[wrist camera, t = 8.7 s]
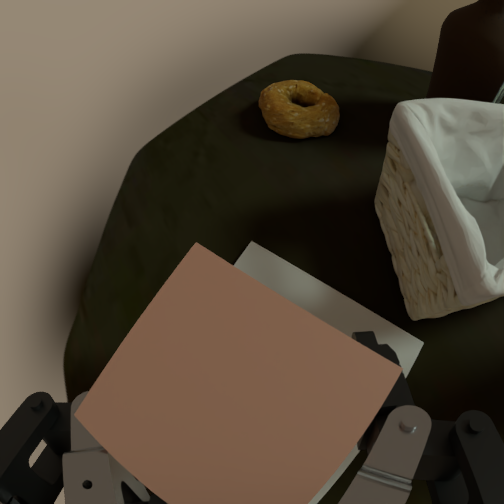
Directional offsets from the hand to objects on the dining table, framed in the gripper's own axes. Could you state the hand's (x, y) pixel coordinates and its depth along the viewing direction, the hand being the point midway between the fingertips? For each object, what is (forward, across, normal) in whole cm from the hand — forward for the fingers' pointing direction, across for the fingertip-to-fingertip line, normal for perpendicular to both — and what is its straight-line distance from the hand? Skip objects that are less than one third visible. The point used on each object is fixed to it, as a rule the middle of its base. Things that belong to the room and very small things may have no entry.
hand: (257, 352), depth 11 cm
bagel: (+35, +3, +9) cm, 36 cm away
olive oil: (+34, +26, +9) cm, 44 cm away
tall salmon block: (+2, 0, -4) cm, 5 cm away
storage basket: (+21, +22, -4) cm, 31 cm away
